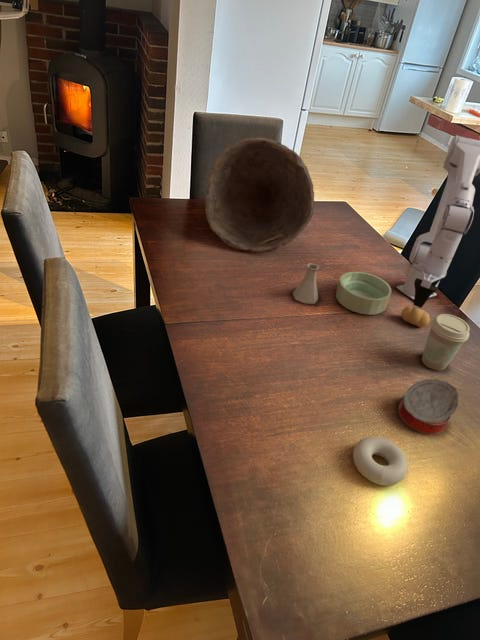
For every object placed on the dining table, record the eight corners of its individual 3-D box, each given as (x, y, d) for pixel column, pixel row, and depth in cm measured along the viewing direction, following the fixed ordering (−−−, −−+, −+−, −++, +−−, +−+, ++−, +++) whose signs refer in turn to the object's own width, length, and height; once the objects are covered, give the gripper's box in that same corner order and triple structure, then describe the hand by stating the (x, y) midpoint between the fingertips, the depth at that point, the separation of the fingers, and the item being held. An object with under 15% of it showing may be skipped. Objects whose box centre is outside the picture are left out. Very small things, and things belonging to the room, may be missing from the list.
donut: (393, 444, 92) (344, 443, 90) (399, 433, 90) (349, 431, 88) (412, 490, 84) (359, 489, 82) (419, 478, 82) (365, 477, 80)
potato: (397, 321, 127) (402, 307, 124) (401, 313, 130) (407, 300, 128) (424, 332, 124) (430, 319, 122) (428, 324, 128) (434, 311, 125)
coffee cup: (408, 354, 116) (426, 315, 109) (434, 348, 119) (453, 310, 112) (432, 377, 110) (452, 337, 103) (459, 371, 113) (480, 331, 106)
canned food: (435, 446, 99) (459, 436, 90) (389, 428, 100) (408, 417, 91) (444, 397, 104) (467, 383, 95) (400, 381, 105) (419, 365, 96)
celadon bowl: (361, 284, 141) (366, 268, 138) (395, 309, 132) (402, 293, 128) (325, 293, 134) (329, 276, 131) (358, 321, 125) (364, 304, 122)
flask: (317, 307, 128) (325, 275, 122) (291, 301, 128) (298, 269, 123) (318, 293, 134) (327, 262, 128) (293, 287, 134) (300, 257, 128)
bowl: (280, 133, 166) (273, 111, 137) (331, 217, 168) (335, 213, 139) (201, 187, 174) (178, 178, 144) (251, 268, 176) (238, 274, 147)
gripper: (431, 238, 122) (413, 283, 130) (417, 258, 111) (398, 305, 119) (459, 247, 119) (439, 292, 127) (447, 269, 108) (426, 316, 116)
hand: (421, 299), depth 123 cm, fingers open, 7 cm apart
